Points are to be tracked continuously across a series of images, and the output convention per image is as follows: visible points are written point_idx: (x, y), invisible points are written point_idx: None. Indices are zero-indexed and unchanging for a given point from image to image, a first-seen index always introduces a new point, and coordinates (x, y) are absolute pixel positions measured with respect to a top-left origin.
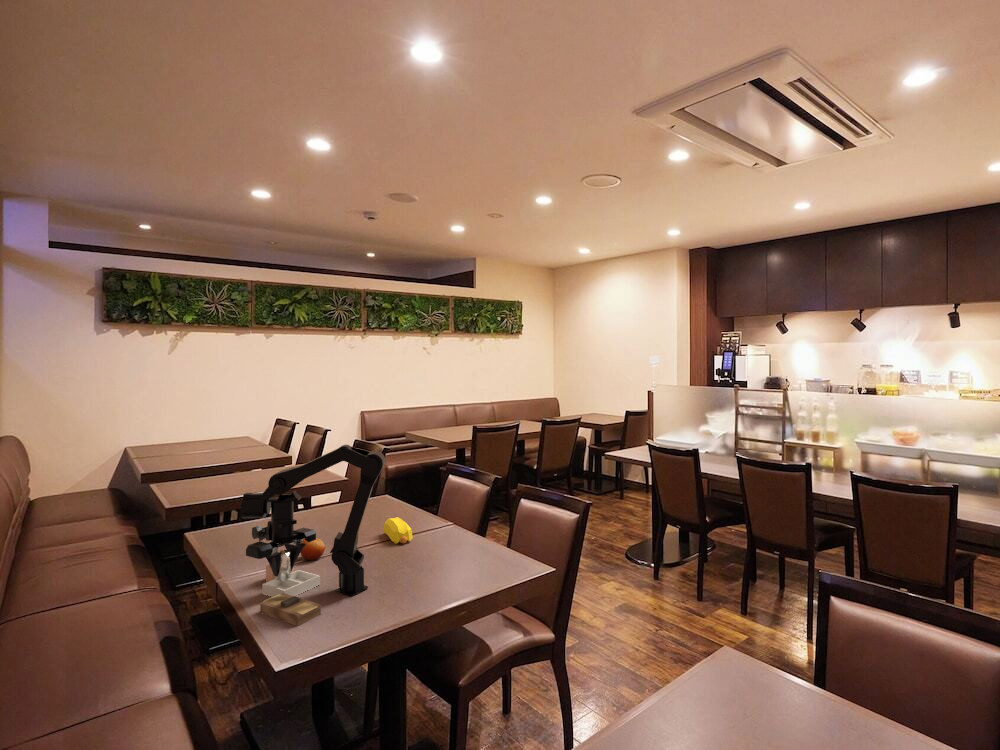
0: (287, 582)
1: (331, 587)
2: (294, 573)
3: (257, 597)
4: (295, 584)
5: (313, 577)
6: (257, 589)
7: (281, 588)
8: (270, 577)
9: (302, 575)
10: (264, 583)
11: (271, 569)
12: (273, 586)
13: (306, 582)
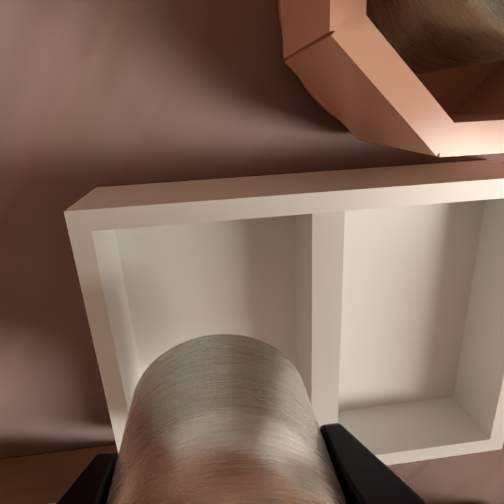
0: (303, 298)
1: (454, 461)
2: (481, 195)
3: (30, 211)
4: None
5: (482, 382)
6: (122, 20)
7: (237, 279)
8: (295, 7)
9: (500, 246)
10: (88, 217)
11: (325, 8)
12: (115, 362)
13: None
